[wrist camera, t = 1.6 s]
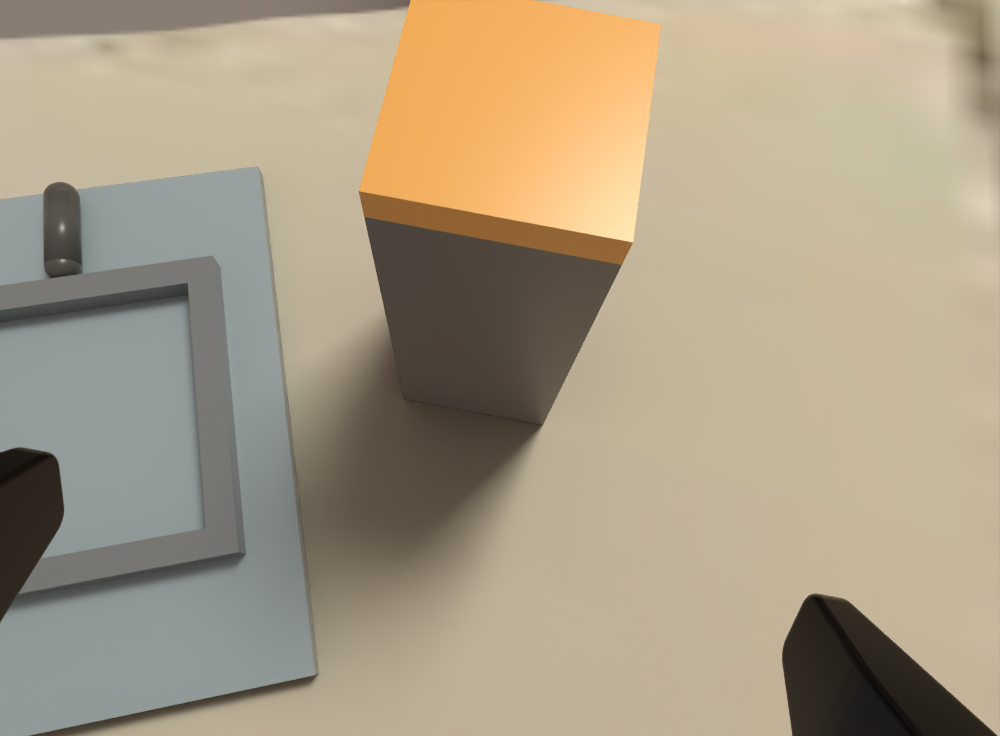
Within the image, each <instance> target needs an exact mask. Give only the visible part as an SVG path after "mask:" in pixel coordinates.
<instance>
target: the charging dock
mask: <svg viewBox="0 0 1000 736" xmlns="http://www.w3.org/2000/svg"><path fill="white" fill-rule="evenodd" d="M16 447H23V448H30V449H35V450H40V451H46V452H50V453H52V454H53V455H55V457H56V458H57V460H58V463H59V468H60V476H61V484H62V492H63V500H64V517H63V520H62V523H61V526H60V528H59V530H58V532H57V533H56V535H55V536H54V538H53V540H52V541H51V543H50V544H49V546H48V547H47V549H46V551H45V552H44V554H43V555H42V557H41V559H40V560H39V562H38V563H37V565H36V567H35V568H34V570H33V571H32V573H31V575H30V576H29V578H28V579H27V581H26V583H25V584H24V586H23V587H22V589H21V591H20V592H19V594H18V595H17V597H16V598H15V600H14V602H13V603H12V605H11V606H10V608H9V610H8V611H7V613H6V614H5V616H4V618H3V619H2V621H1V622H0V736H30V735H35V734H39V733H44V732H49V731H54V730H58V729H63V728H68V727H72V726H77V725H82V724H87V723H91V722H96V721H101V720H106V719H110V718H115V717H120V716H124V715H129V714H134V713H139V712H143V711H148V710H153V709H158V708H162V707H167V706H172V705H177V704H181V703H186V702H191V701H195V700H200V699H205V698H210V697H214V696H219V695H224V694H229V693H233V692H238V691H243V690H247V689H252V688H257V687H262V686H266V685H271V684H276V683H281V682H285V681H290V680H295V679H299V678H304V677H309V676H314V675H316V674H319V672H318V663H317V654H316V645H315V636H314V627H313V619H312V610H311V601H310V592H309V583H308V574H307V565H306V556H305V548H304V539H303V530H302V521H301V512H300V503H299V494H298V485H297V477H296V468H295V459H294V450H293V441H292V432H291V423H290V414H289V406H288V397H287V388H286V379H285V370H284V361H283V352H282V343H281V335H280V326H279V317H278V308H277V299H276V290H275V281H274V272H273V264H272V255H271V246H270V237H269V228H268V219H267V210H266V201H265V193H264V184H263V176H262V174H261V171H260V169H259V167H258V166H257V167H250V168H242V169H234V170H226V171H218V172H211V173H203V174H195V175H187V176H179V177H172V178H164V179H156V180H148V181H140V182H133V183H125V184H117V185H109V186H101V187H94V188H86V189H78V190H76V189H75V188H74V187H73V186H71V185H69V184H67V183H64V182H56V183H52V184H50V185H49V186H48V187H47V188H46V189H45V191H44V194H39V195H31V196H23V197H15V198H8V199H0V452H3V451H6V450H9V449H12V448H16Z"/></svg>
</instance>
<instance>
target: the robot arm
mask: <svg viewBox="0 0 1000 736" xmlns="http://www.w3.org/2000/svg"><path fill="white" fill-rule="evenodd" d="M63 517H64V500H63V492H62V484H61V476H60V468H59V463H58V460H57V458H56V457H55V455H53V454H52V453H50V452H46V451H40V450H35V449H30V448H23V447H16V448H12V449H9V450H6V451H3V452H0V622H1V621H2V619H3V618H4V616H5V614H6V613H7V611H8V610H9V608H10V606H11V605H12V603H13V602H14V600H15V598H16V597H17V595H18V594H19V592H20V591H21V589H22V587H23V586H24V584H25V583H26V581H27V579H28V578H29V576H30V575H31V573H32V571H33V570H34V568H35V567H36V565H37V563H38V562H39V560H40V559H41V557H42V555H43V554H44V552H45V551H46V549H47V547H48V546H49V544H50V543H51V541H52V540H53V538H54V536H55V535H56V533H57V532H58V530H59V528H60V526H61V523H62V520H63ZM782 663H783V671H784V678H785V685H786V692H787V700H788V707H789V714H790V721H791V729H792V736H997V735H996V734H995V733H994V732H993V731H992V730H991V729H990V728H988V727H987V726H986V725H985V724H984V723H983V722H982V721H981V720H980V719H979V718H977V717H976V716H975V715H974V714H973V713H972V712H971V711H970V710H969V709H967V708H966V707H965V706H964V705H963V704H962V703H961V702H960V701H959V700H957V699H956V698H955V697H954V696H953V695H952V694H951V693H950V692H949V691H947V690H946V689H945V688H944V687H943V686H942V685H941V684H940V683H939V682H938V681H936V680H935V679H934V678H933V677H932V676H931V675H930V674H929V673H928V672H926V671H925V670H924V669H923V668H922V667H921V666H920V665H919V664H918V663H916V662H915V661H914V660H913V659H912V658H911V657H910V656H909V655H908V654H906V653H905V652H904V651H903V650H902V649H901V648H900V647H899V646H898V645H897V644H895V643H894V642H893V641H892V640H891V639H890V638H889V637H888V636H887V635H885V634H884V633H883V632H882V631H881V630H880V629H879V628H878V627H877V626H875V625H874V624H873V623H872V622H871V621H870V620H869V619H868V618H867V617H865V616H864V615H863V614H862V613H861V612H860V611H859V610H858V609H857V608H856V607H854V606H853V605H852V604H851V603H850V602H849V601H847V600H845V599H842V598H838V597H833V596H827V595H822V594H811V595H809V596H808V597H807V598H806V599H805V600H804V602H803V604H802V606H801V608H800V610H799V612H798V614H797V616H796V619H795V621H794V623H793V625H792V627H791V629H790V631H789V633H788V635H787V638H786V640H785V642H784V646H783V652H782Z"/></svg>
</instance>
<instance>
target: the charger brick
mask: <svg viewBox="0 0 1000 736" xmlns="http://www.w3.org/2000/svg"><path fill="white" fill-rule="evenodd" d="M660 29H661V24H656V23H651V22H645V21H640V20H635V19H629V18H624V17H619V16H613V15H608V14H603V13H598V12H592V11H587V10H582V9H576V8H571V7H566V6H561V5H555V4H550V3H545V2H539V1H534V0H411V1H410V5H409V9H408V12H407V16H406V20H405V23H404V27H403V31H402V34H401V38H400V42H399V45H398V49H397V53H396V56H395V60H394V64H393V67H392V71H391V75H390V78H389V82H388V86H387V89H386V93H385V97H384V100H383V104H382V108H381V111H380V115H379V119H378V122H377V126H376V130H375V133H374V137H373V141H372V145H371V148H370V152H369V156H368V159H367V163H366V167H365V170H364V174H363V178H362V181H361V185H360V189H359V194H360V199H361V203H362V208H363V213H364V217H365V222H366V226H367V231H368V236H369V240H370V245H371V249H372V254H373V259H374V263H375V268H376V272H377V277H378V282H379V286H380V291H381V295H382V300H383V304H384V309H385V314H386V318H387V323H388V327H389V332H390V337H391V341H392V346H393V350H394V355H395V360H396V364H397V369H398V373H399V378H400V383H401V387H402V392H403V396H404V399H405V400H411V401H416V402H421V403H427V404H432V405H438V406H443V407H448V408H454V409H459V410H464V411H470V412H475V413H481V414H486V415H491V416H497V417H502V418H508V419H513V420H518V421H524V422H529V423H535V424H540V425H543V423H544V421H545V419H546V417H547V415H548V413H549V411H550V409H551V407H552V405H553V403H554V401H555V399H556V397H557V395H558V393H559V391H560V389H561V387H562V385H563V383H564V381H565V379H566V377H567V375H568V373H569V371H570V369H571V367H572V365H573V363H574V361H575V359H576V357H577V355H578V353H579V350H580V348H581V346H582V344H583V342H584V340H585V338H586V336H587V334H588V332H589V330H590V328H591V326H592V324H593V322H594V320H595V318H596V316H597V314H598V312H599V310H600V308H601V306H602V304H603V302H604V300H605V298H606V296H607V294H608V292H609V290H610V288H611V286H612V284H613V282H614V280H615V278H616V276H617V274H618V272H619V270H620V268H621V265H622V263H623V261H624V259H625V257H626V255H627V253H628V251H629V249H630V247H631V245H632V243H633V238H634V230H635V222H636V215H637V207H638V199H639V192H640V184H641V176H642V168H643V161H644V153H645V145H646V137H647V130H648V122H649V114H650V106H651V99H652V91H653V83H654V76H655V68H656V60H657V52H658V45H659V37H660Z"/></svg>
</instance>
